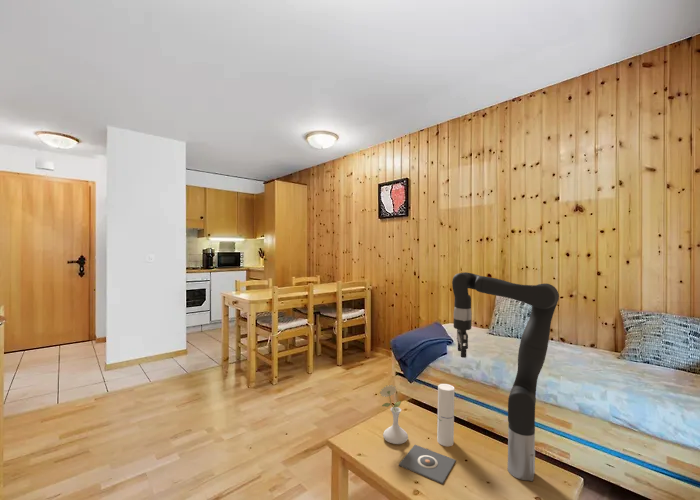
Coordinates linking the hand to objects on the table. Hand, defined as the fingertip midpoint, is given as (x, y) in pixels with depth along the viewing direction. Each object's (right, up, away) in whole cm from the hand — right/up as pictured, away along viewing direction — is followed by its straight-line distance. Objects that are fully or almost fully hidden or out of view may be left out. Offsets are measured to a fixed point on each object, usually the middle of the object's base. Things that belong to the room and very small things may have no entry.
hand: (461, 354), depth 147 cm
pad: (-18, -41, -12) cm, 46 cm away
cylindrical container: (-6, -41, +3) cm, 42 cm away
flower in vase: (-30, -41, +5) cm, 51 cm away
